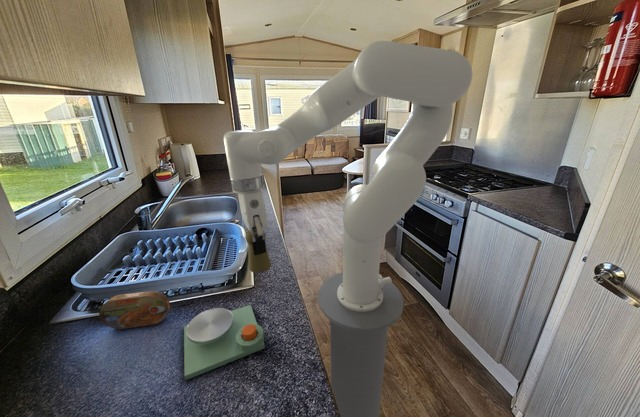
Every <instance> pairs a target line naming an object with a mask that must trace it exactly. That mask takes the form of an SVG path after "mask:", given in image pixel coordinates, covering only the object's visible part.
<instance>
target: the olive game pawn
mask: <svg viewBox="0 0 640 417" xmlns="http://www.w3.org/2000/svg"><path fill="white" fill-rule="evenodd" d="M254 234H257V231H256V232H254ZM263 234H264V238H265V239H266V238H267V235H266V232H265V230H263ZM245 241H246V243H247V245H248V270H249V272H251V273H253V274H261V273H264V272H267V271H268V270H270V269H271V267H272V262H271V259H270V256H269V252H268V249H267V247H266V253H262V254H259V255H254V252H253V246H252V241H253V238H252V234H251V231H246V234H245Z"/></svg>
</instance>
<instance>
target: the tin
mask: <svg viewBox="0 0 640 417" xmlns="http://www.w3.org/2000/svg"><path fill="white" fill-rule="evenodd" d="M170 309H171V303H170V301H169V298H168V296H167V295H165V294H164V293H162V292H160V291H156V290H147V291H140V292H138V291H137V292H132V293H124V294H122V293H121V294H117V295H114V296H112V297H110V298H109V299H108V300H107V301H105V302H104V304H102V305H101V306H100V308H99V310H98V316H99V319H100V320H101V322H102V323H103V324H104V325H106V326H107V327H109V328H112V329H115V330H124V329H131V328H138V327H144V326H145V327H146V326H152V325H153V326H154V325H157V324H159V323H161V322H163V321H165V319H166V318H167V316H168V313H169V311H170Z"/></svg>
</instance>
